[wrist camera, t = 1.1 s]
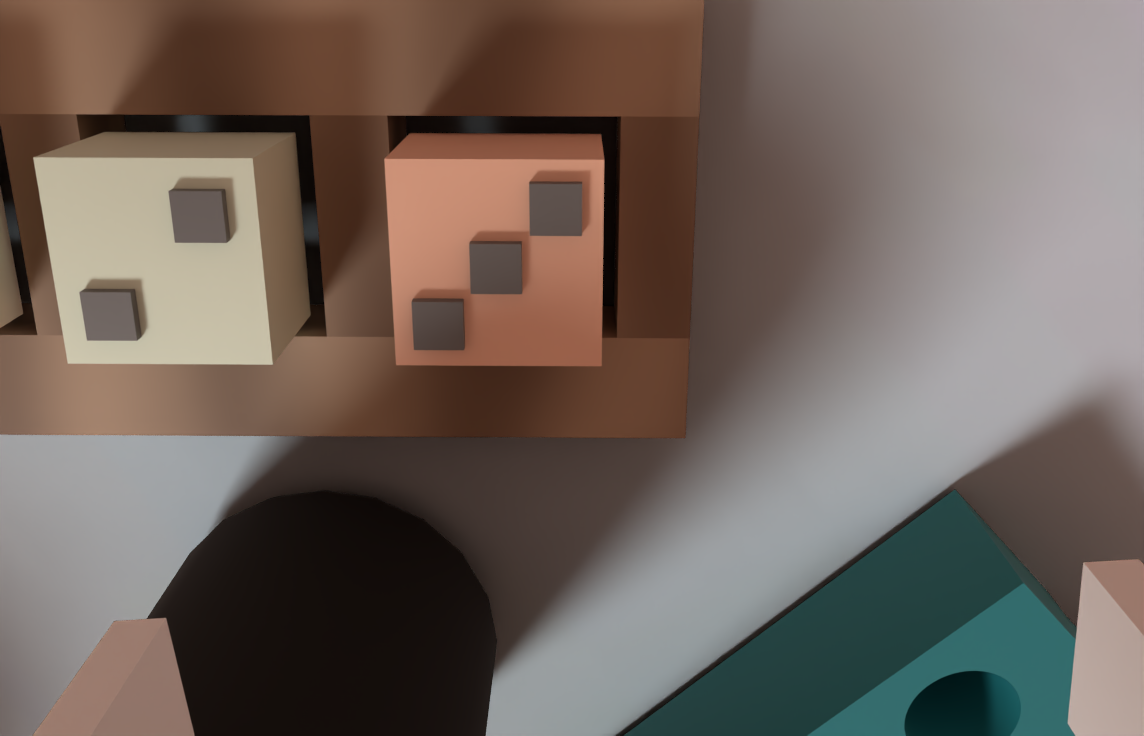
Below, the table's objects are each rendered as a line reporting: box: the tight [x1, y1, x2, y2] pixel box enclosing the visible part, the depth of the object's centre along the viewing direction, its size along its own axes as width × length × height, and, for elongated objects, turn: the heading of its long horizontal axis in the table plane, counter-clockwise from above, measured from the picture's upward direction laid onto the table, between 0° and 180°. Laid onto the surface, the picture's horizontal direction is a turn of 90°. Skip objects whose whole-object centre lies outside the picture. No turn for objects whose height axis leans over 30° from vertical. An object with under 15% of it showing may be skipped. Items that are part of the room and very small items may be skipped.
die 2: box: [384, 133, 604, 366], centre depth 27 cm, size 5×5×4 cm
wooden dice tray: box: [0, 0, 704, 438], centre depth 30 cm, size 26×12×3 cm, turn 90°
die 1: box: [33, 132, 311, 365], centre depth 27 cm, size 5×5×4 cm
